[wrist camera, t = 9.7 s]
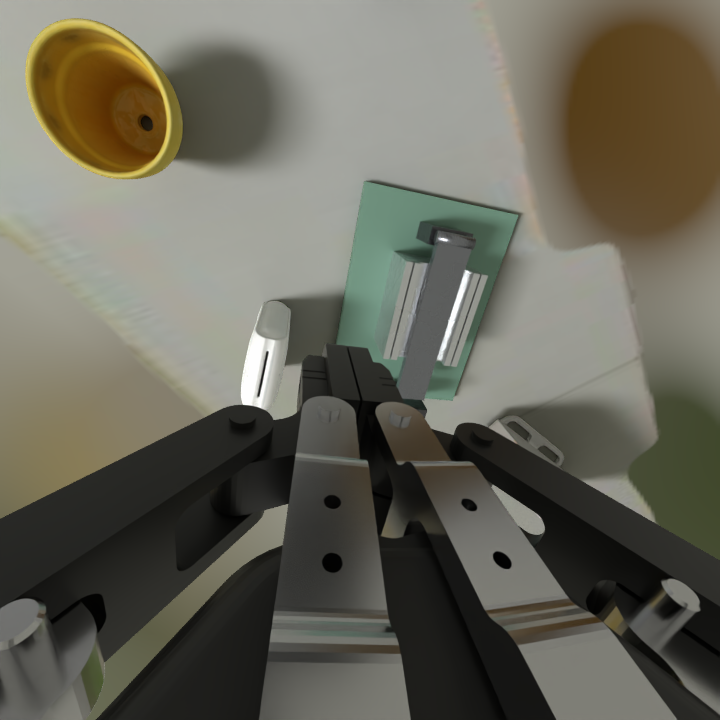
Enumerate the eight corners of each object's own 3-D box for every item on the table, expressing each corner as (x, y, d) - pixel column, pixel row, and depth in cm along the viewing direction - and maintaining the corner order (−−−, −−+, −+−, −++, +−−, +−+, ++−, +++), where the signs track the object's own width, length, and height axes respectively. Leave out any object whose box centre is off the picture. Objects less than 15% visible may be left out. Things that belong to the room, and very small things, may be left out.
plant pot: (221, 158, 38) (197, 151, 30) (135, 194, 39) (87, 198, 30) (164, 40, 34) (116, -9, 25) (67, 83, 34) (-14, 49, 25)
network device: (576, 463, 69) (669, 560, 52) (541, 491, 72) (619, 592, 54) (499, 400, 59) (582, 493, 42) (461, 434, 62) (525, 536, 44)
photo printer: (279, 370, 51) (272, 422, 40) (248, 364, 50) (233, 416, 39) (294, 304, 47) (292, 341, 36) (261, 296, 46) (248, 332, 35)
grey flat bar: (435, 229, 39) (440, 231, 37) (472, 236, 40) (477, 238, 38) (392, 392, 48) (394, 398, 46) (422, 395, 49) (425, 401, 47)
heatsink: (400, 217, 43) (418, 223, 36) (475, 232, 45) (503, 241, 38) (362, 389, 53) (370, 418, 47) (424, 395, 55) (440, 423, 49)
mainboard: (364, 181, 41) (365, 181, 40) (513, 214, 46) (518, 215, 45) (328, 385, 53) (328, 389, 52) (449, 396, 57) (452, 400, 56)
